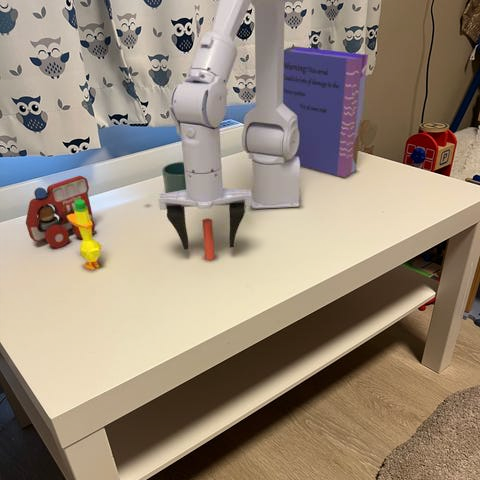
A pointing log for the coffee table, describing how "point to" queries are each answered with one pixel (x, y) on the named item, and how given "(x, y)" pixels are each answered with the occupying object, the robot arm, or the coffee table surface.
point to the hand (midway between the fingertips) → (208, 245)
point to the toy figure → (85, 234)
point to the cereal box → (326, 106)
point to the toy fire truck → (57, 211)
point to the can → (174, 177)
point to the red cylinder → (208, 239)
